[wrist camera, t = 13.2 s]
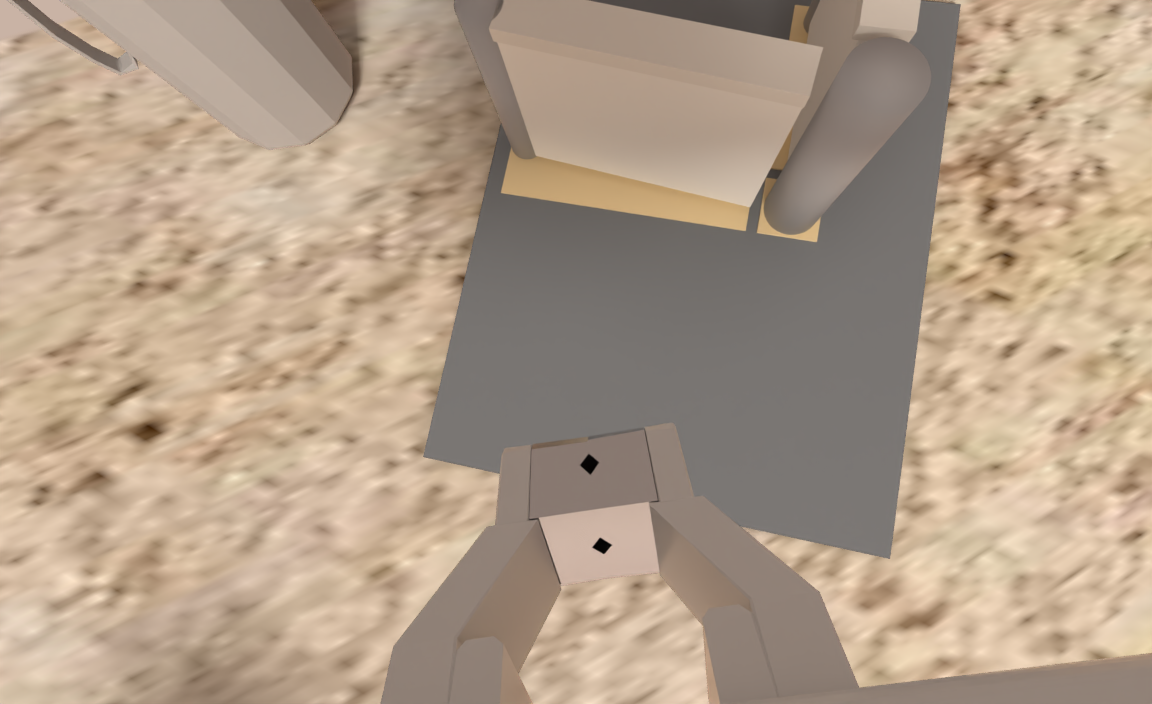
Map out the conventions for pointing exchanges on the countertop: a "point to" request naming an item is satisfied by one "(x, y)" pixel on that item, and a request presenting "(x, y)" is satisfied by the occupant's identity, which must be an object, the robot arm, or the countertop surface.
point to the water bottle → (227, 59)
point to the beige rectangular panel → (640, 91)
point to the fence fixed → (848, 103)
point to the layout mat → (709, 316)
